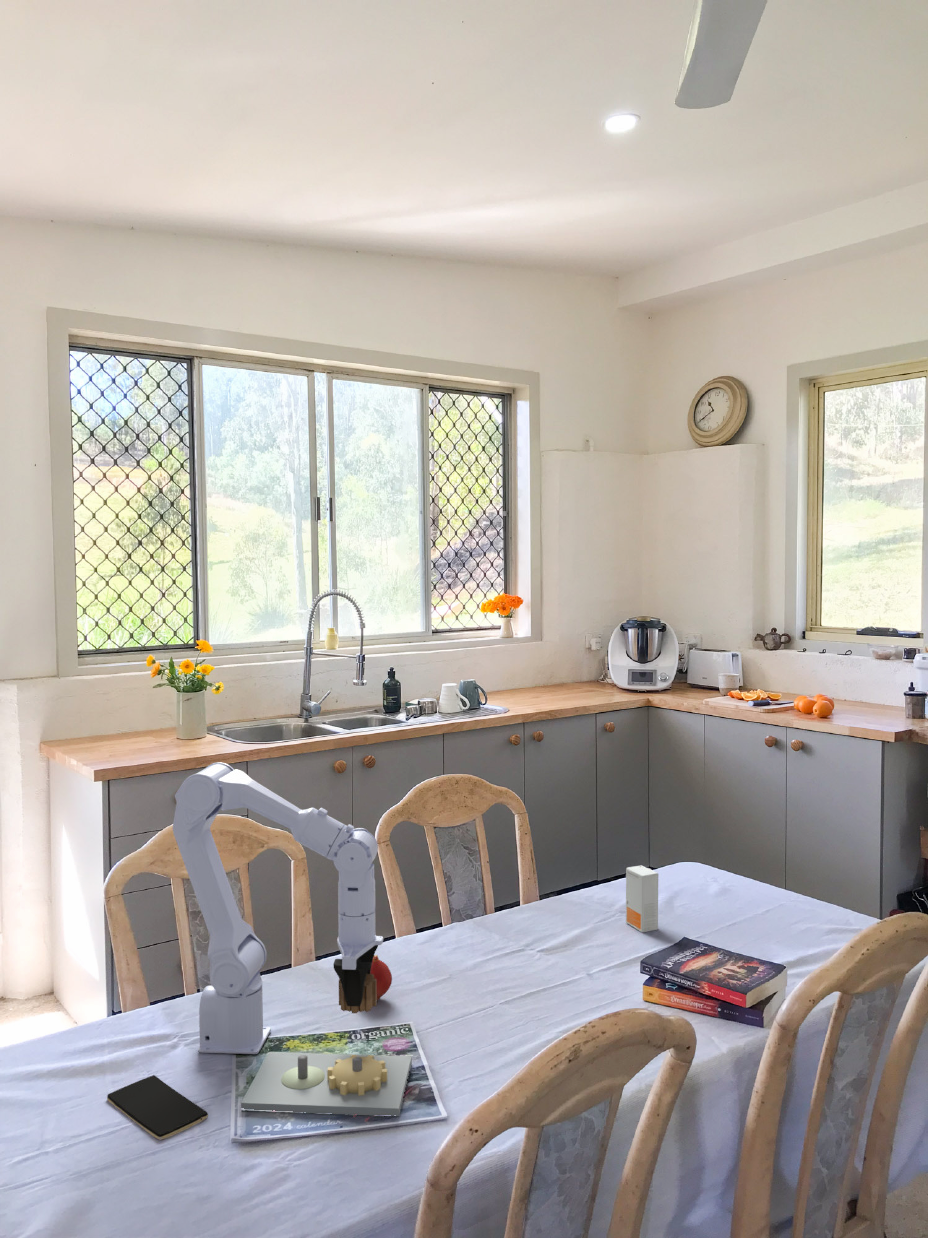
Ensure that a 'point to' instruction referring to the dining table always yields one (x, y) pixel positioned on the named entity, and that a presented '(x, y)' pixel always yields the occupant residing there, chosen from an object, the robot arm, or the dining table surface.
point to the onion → (381, 976)
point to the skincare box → (642, 898)
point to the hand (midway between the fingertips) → (357, 996)
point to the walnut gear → (368, 996)
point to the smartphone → (157, 1107)
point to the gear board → (329, 1083)
